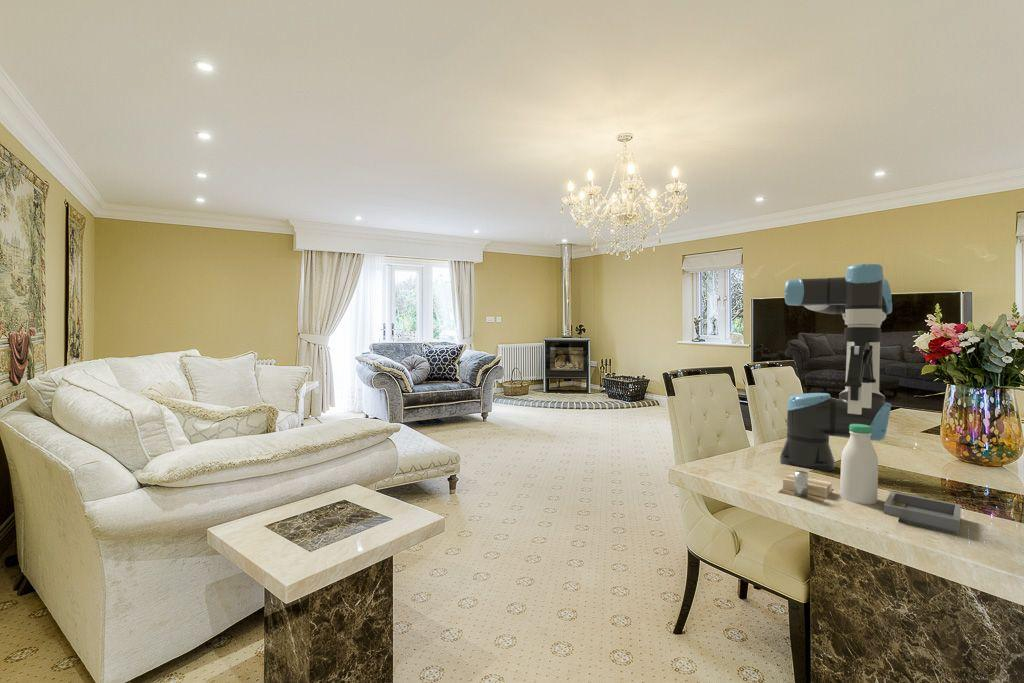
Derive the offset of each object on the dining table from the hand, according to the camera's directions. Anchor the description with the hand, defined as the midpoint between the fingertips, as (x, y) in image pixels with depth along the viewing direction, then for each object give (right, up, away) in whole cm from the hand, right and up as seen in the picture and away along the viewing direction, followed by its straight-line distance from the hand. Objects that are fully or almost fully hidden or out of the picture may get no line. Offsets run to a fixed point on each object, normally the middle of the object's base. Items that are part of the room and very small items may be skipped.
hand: (859, 410), depth 123 cm
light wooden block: (-9, -22, +7) cm, 25 cm away
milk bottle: (0, -24, +1) cm, 24 cm away
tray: (+8, -24, -9) cm, 27 cm away
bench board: (-10, -23, +6) cm, 26 cm away
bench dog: (-13, -22, +3) cm, 26 cm away
